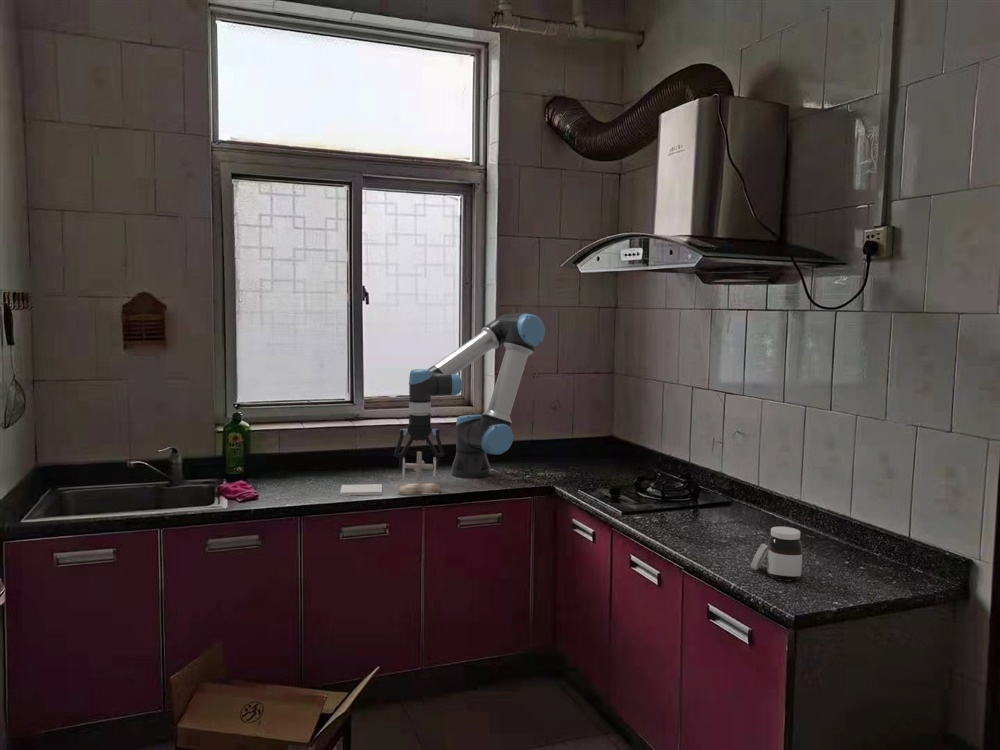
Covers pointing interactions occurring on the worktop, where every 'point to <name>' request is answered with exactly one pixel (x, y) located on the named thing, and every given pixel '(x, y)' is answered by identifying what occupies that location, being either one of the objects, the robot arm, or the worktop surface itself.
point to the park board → (419, 488)
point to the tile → (361, 489)
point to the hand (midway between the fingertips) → (419, 476)
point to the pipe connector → (419, 466)
